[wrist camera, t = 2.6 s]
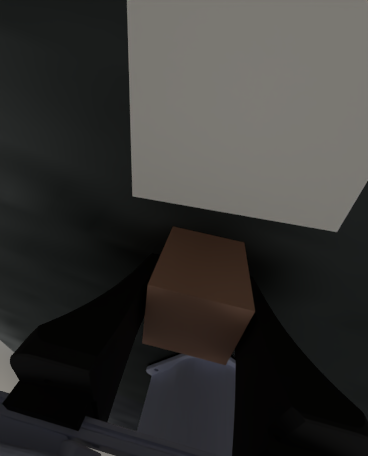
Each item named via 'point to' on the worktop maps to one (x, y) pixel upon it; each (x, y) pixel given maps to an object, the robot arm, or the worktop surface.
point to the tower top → (250, 106)
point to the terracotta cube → (199, 296)
